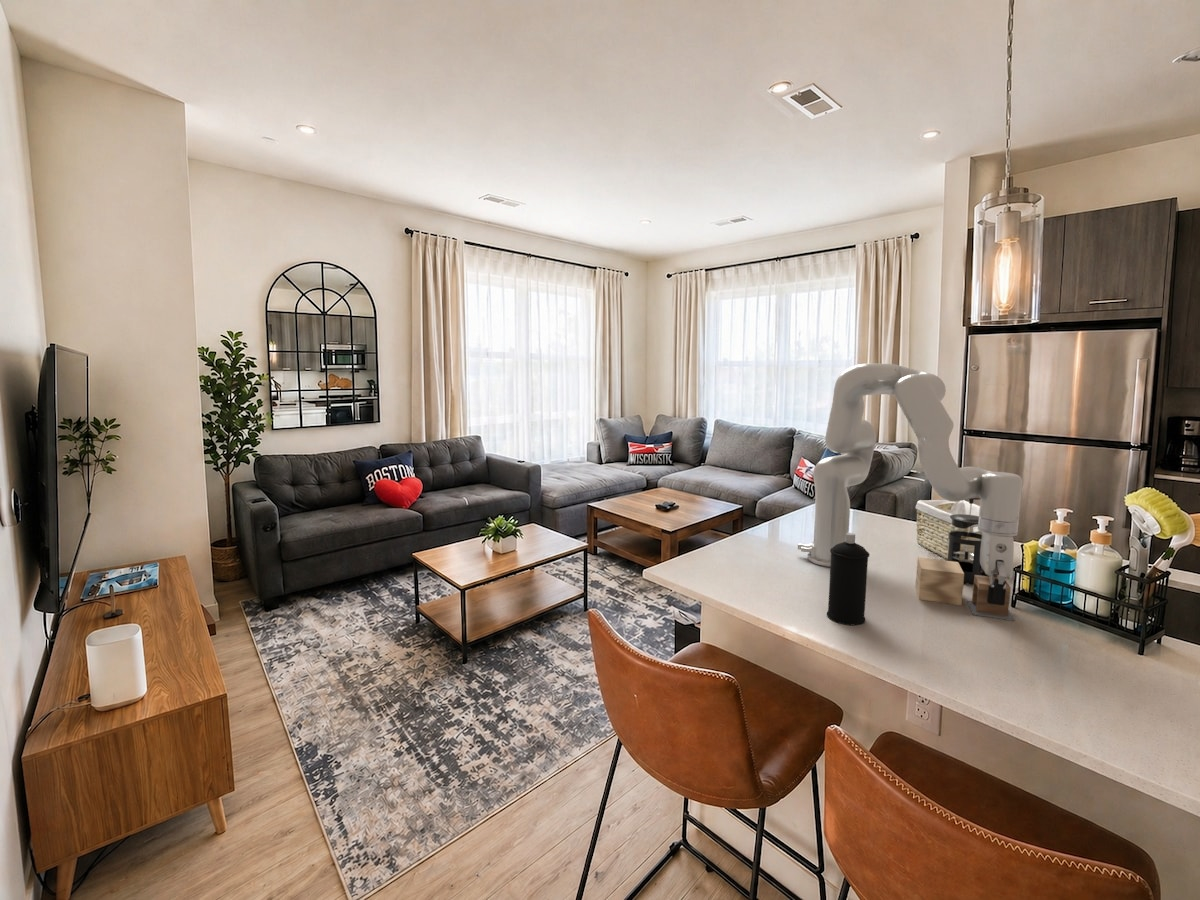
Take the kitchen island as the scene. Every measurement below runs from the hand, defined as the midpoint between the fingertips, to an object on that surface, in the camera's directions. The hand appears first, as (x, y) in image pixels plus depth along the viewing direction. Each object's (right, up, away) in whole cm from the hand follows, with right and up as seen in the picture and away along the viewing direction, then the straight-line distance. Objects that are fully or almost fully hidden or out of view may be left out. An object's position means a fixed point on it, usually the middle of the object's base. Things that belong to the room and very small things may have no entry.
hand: (990, 596), depth 130 cm
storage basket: (+19, +2, +41) cm, 46 cm away
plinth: (-7, -2, +10) cm, 12 cm away
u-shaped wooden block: (0, -3, +1) cm, 3 cm away
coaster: (0, -4, +1) cm, 4 cm away
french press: (+8, -1, +22) cm, 23 cm away
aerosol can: (-35, -5, -2) cm, 36 cm away
